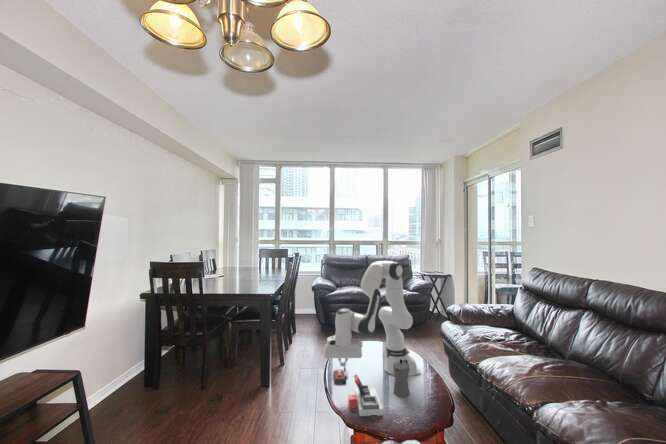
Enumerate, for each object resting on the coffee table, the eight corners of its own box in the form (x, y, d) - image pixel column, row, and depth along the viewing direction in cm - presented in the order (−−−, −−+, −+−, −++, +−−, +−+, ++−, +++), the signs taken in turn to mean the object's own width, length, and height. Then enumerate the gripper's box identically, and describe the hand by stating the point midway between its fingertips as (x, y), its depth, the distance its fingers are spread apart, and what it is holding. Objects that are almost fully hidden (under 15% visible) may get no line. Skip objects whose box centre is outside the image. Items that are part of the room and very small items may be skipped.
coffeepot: (405, 401, 156) (405, 366, 156) (388, 395, 161) (388, 361, 161) (415, 388, 168) (414, 356, 169) (399, 383, 174) (398, 352, 174)
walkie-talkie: (349, 385, 173) (346, 369, 193) (349, 377, 173) (346, 362, 193) (334, 385, 172) (332, 369, 192) (334, 377, 173) (332, 362, 193)
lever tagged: (366, 394, 155) (357, 377, 155) (366, 396, 152) (358, 380, 153) (363, 395, 155) (354, 379, 155) (363, 398, 152) (355, 381, 152)
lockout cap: (356, 403, 153) (356, 394, 153) (357, 408, 149) (356, 399, 149) (348, 403, 153) (348, 395, 153) (349, 408, 149) (349, 399, 149)
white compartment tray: (374, 393, 162) (374, 384, 163) (382, 415, 143) (382, 404, 144) (355, 394, 162) (354, 385, 162) (359, 416, 143) (359, 405, 143)
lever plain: (364, 388, 161) (356, 372, 161) (365, 390, 158) (356, 374, 158) (361, 389, 161) (353, 373, 161) (362, 392, 158) (353, 376, 158)
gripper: (361, 337, 164) (361, 363, 163) (324, 337, 163) (324, 363, 162) (363, 341, 157) (363, 368, 157) (324, 341, 156) (324, 368, 156)
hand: (342, 365), depth 159 cm, fingers closed
